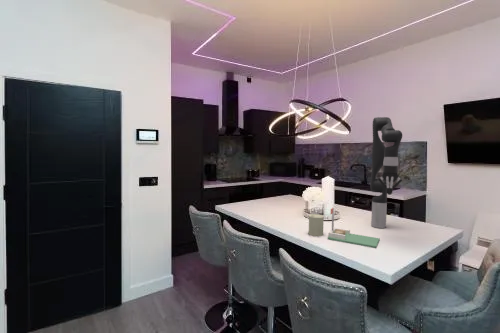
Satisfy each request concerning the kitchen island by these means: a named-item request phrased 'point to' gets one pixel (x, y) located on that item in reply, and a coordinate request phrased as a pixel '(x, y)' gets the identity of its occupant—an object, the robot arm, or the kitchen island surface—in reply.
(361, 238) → the putting green
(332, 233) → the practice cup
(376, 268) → the kitchen island surface
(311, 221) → the can
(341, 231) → the puck
